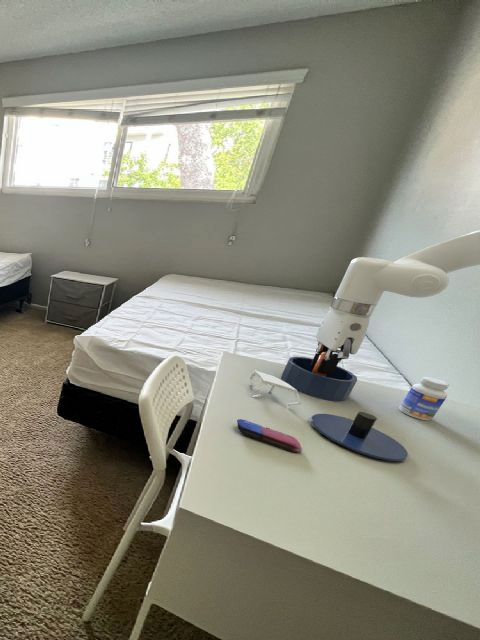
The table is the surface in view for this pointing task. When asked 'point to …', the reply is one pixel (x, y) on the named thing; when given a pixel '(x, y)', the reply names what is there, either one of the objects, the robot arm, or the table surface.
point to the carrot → (319, 363)
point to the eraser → (269, 436)
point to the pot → (318, 380)
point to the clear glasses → (273, 385)
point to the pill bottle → (425, 398)
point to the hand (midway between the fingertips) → (320, 369)
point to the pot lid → (359, 435)
